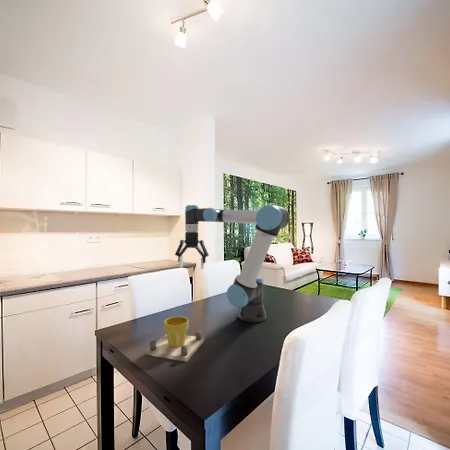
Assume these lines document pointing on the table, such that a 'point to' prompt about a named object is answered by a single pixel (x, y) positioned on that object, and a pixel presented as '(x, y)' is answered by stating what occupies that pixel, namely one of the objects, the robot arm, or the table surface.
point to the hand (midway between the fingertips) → (191, 268)
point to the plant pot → (176, 330)
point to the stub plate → (176, 348)
